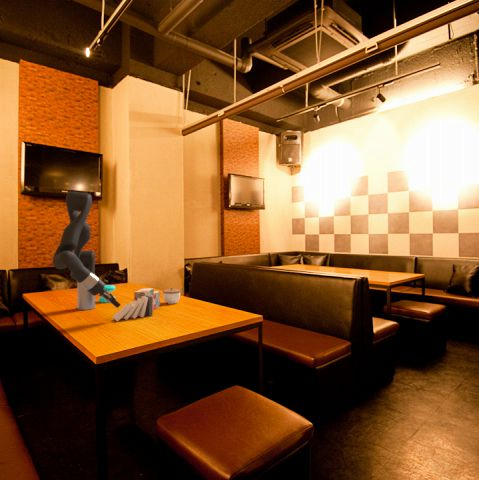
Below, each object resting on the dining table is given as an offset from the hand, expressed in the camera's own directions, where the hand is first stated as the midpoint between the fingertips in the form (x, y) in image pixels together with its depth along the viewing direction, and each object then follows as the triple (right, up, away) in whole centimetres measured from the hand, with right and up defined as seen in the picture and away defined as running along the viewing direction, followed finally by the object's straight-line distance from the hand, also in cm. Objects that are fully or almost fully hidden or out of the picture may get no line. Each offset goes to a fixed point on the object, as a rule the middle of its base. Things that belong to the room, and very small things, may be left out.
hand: (118, 306), depth 162 cm
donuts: (-25, -7, +49) cm, 56 cm away
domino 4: (+9, -7, +7) cm, 13 cm away
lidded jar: (+17, -7, +43) cm, 47 cm away
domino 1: (-1, -6, -1) cm, 7 cm away
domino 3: (+5, -6, +4) cm, 9 cm away
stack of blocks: (+8, -7, +22) cm, 24 cm away
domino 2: (+2, -6, +2) cm, 7 cm away
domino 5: (+12, -7, +10) cm, 17 cm away
